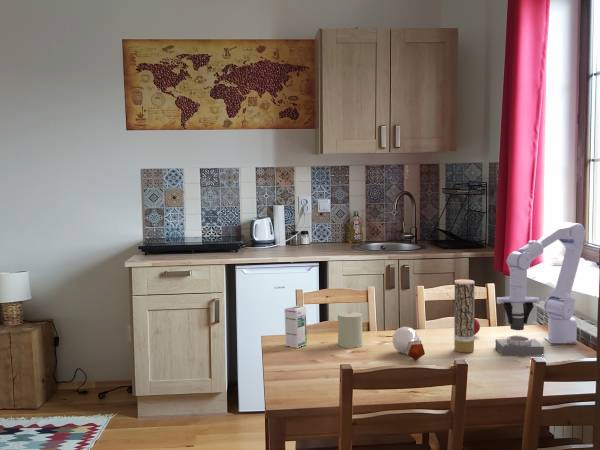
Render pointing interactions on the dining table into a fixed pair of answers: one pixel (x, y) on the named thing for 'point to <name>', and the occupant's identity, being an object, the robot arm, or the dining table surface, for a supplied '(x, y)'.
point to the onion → (476, 326)
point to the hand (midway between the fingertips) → (517, 323)
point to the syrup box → (295, 326)
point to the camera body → (519, 346)
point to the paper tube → (464, 316)
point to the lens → (517, 321)
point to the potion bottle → (408, 342)
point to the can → (350, 329)
